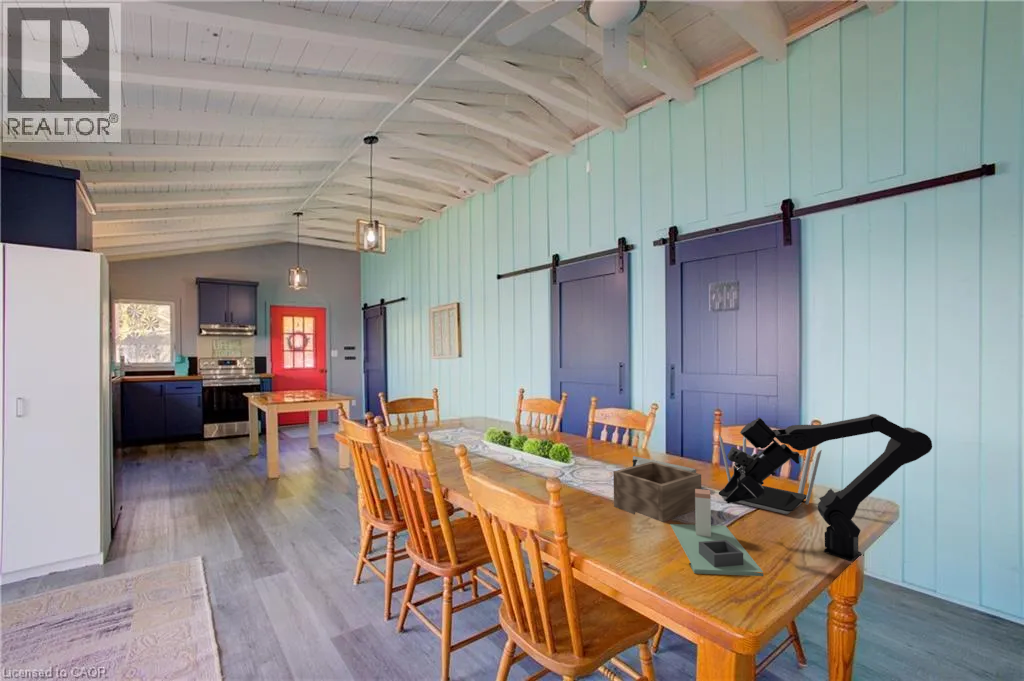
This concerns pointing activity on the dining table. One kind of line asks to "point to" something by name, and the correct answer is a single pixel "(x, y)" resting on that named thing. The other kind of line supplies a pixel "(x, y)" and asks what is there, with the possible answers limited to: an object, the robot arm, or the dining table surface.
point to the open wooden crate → (656, 490)
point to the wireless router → (777, 497)
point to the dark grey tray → (720, 553)
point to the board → (718, 532)
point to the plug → (703, 512)
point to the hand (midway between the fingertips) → (725, 496)
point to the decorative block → (640, 461)
